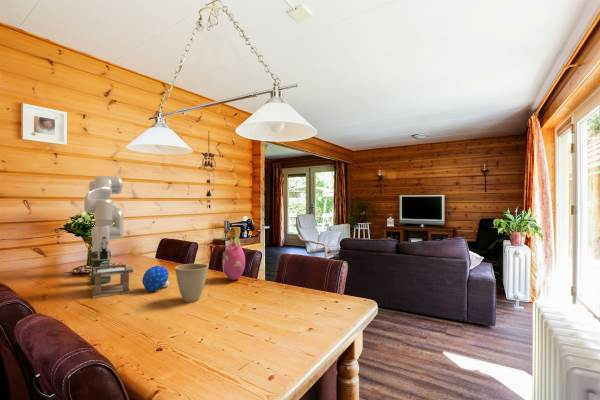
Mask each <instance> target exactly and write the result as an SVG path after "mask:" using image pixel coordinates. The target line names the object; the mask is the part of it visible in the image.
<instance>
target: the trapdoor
mask: <svg viewBox="0 0 600 400" xmlns="http://www.w3.org/2000/svg"><path fill="white" fill-rule="evenodd" d="M126 269H129V274H131V273H134V269H133V267H132V266H126V267H125V268H124V267H121V268H120V267H116V268H110V269H102V270H97V273H98V272H110V271H119V270H126ZM120 274H123V273H114V274H105V275H101V276H107V275H110V276H115V275H120Z"/></svg>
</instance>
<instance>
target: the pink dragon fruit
mask: <svg viewBox="0 0 600 400" xmlns="http://www.w3.org/2000/svg"><path fill="white" fill-rule="evenodd" d="M221 262H222V272H223V278H226V277H227V278H228V279H229V280H231V281H236V280H238V279H239V278H241V276H242V275H243V273H244V270H245V267H246V256H245V252H244V250H243V248H242V246H241V243H240V237H239V232H238V229H236V230H235V235H234V239H233V237H230V240H229V245H226V246H225V250H224V251H223V253H222V261H221Z"/></svg>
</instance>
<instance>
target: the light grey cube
mask: <svg viewBox="0 0 600 400" xmlns="http://www.w3.org/2000/svg"><path fill="white" fill-rule="evenodd" d="M107 251H108V258H107V259H109V248H107ZM100 252H101V249H98V260H101V259H100ZM107 259H102V260H107Z"/></svg>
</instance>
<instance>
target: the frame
mask: <svg viewBox="0 0 600 400" xmlns="http://www.w3.org/2000/svg"><path fill="white" fill-rule="evenodd" d="M121 267H124V268H125V267H127V264H126V263H123V264H115V265H110V266H103V267H93V273H94V276H95V280H94V285H93V287H92V299H98V298H99V299H101V298H105V297H113V296H119V295H125V294H131V288H130V284H129V283H130V273H129V269H126V270H119V271H110V272H98V273H97V270H100V269H106V268H110V269H112V268H121ZM114 273H123V274H119V277H120V278H119V279H120V281H119V283H115V284H107V285H106V284H105V285H102V284H101V275H105V274H114Z"/></svg>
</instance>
